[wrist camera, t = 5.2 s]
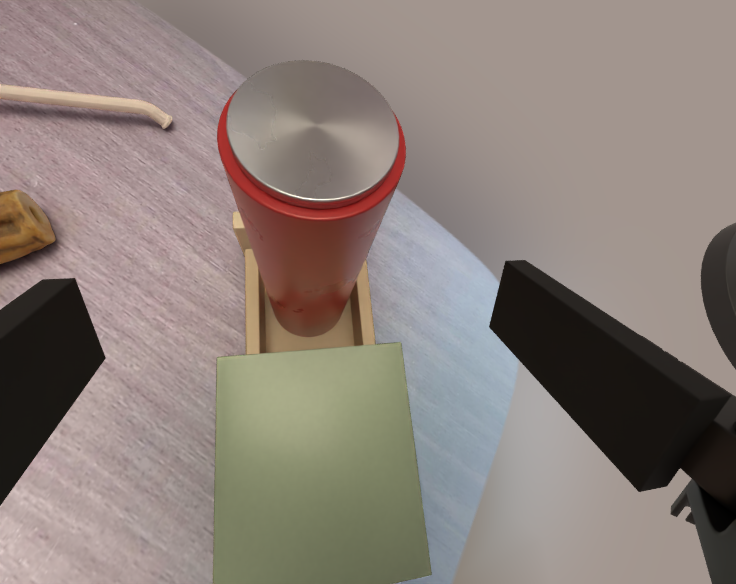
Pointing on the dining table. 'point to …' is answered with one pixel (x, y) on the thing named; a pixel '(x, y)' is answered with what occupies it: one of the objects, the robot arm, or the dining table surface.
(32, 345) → the robot arm
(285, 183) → the can
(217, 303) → the dining table surface
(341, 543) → the cabinet
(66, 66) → the dining table surface
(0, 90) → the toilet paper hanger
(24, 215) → the carved stone cylinder
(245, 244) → the drawer
